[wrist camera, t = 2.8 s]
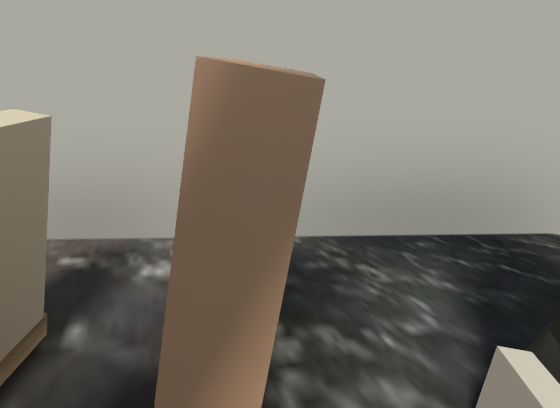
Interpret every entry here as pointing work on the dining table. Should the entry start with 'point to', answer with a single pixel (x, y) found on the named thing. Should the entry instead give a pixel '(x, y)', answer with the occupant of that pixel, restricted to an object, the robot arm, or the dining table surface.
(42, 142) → the books
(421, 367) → the dining table surface
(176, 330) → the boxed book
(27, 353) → the board
